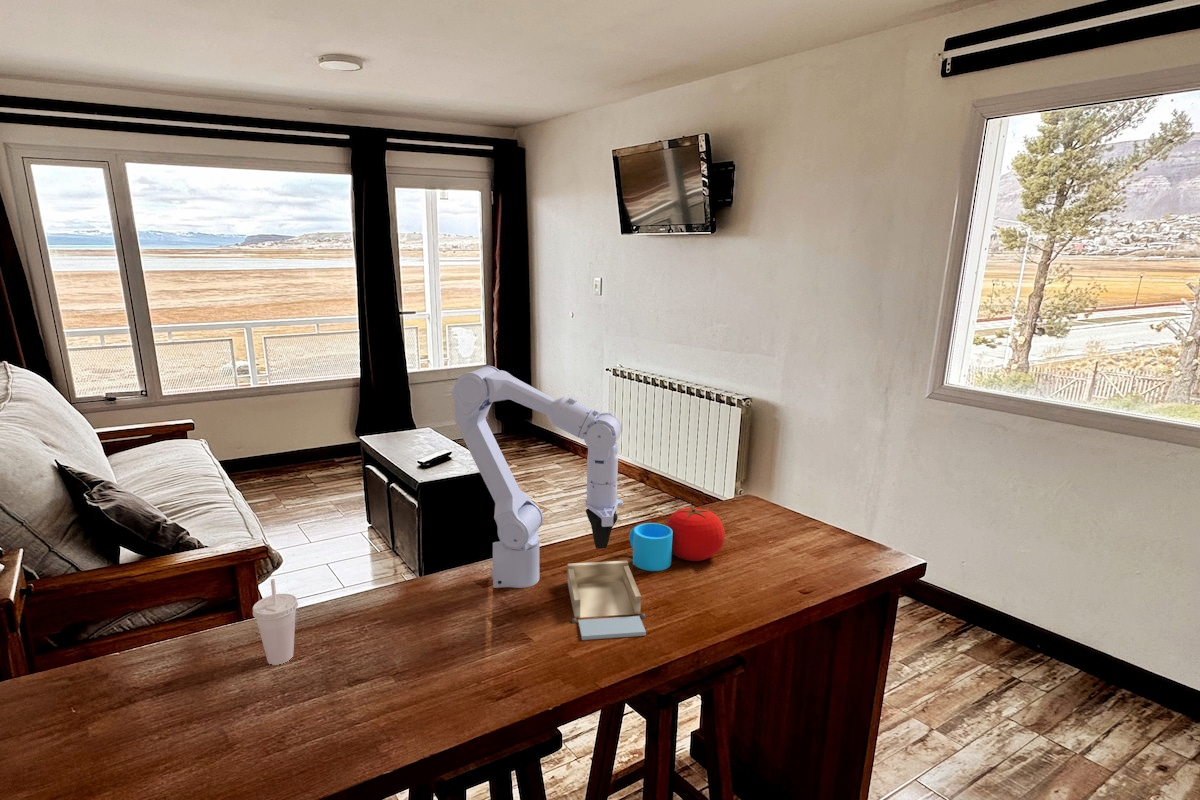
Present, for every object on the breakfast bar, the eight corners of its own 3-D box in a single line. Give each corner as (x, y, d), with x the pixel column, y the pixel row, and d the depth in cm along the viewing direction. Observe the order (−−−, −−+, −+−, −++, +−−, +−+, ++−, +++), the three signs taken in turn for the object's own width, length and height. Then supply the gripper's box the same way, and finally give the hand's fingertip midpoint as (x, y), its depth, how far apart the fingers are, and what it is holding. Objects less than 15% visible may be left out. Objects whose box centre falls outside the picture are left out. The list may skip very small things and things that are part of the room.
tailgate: (578, 624, 112) (582, 640, 107) (578, 619, 112) (582, 636, 106) (639, 620, 113) (645, 636, 108) (639, 615, 113) (645, 631, 108)
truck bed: (572, 628, 112) (572, 602, 110) (564, 586, 126) (564, 563, 125) (645, 623, 114) (646, 597, 112) (629, 583, 128) (630, 560, 127)
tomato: (654, 548, 143) (656, 503, 141) (704, 540, 148) (707, 496, 146) (679, 572, 132) (682, 523, 130) (733, 563, 137) (736, 515, 135)
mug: (678, 569, 134) (680, 533, 132) (648, 579, 130) (649, 542, 128) (644, 548, 144) (646, 514, 142) (615, 556, 139) (616, 521, 138)
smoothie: (257, 675, 97) (248, 592, 94) (258, 652, 103) (249, 573, 100) (303, 663, 100) (296, 583, 97) (301, 642, 106) (294, 565, 103)
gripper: (630, 492, 112) (628, 563, 115) (616, 466, 126) (614, 530, 129) (591, 493, 111) (590, 565, 114) (581, 467, 125) (580, 531, 128)
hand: (600, 546), depth 121 cm, fingers closed
